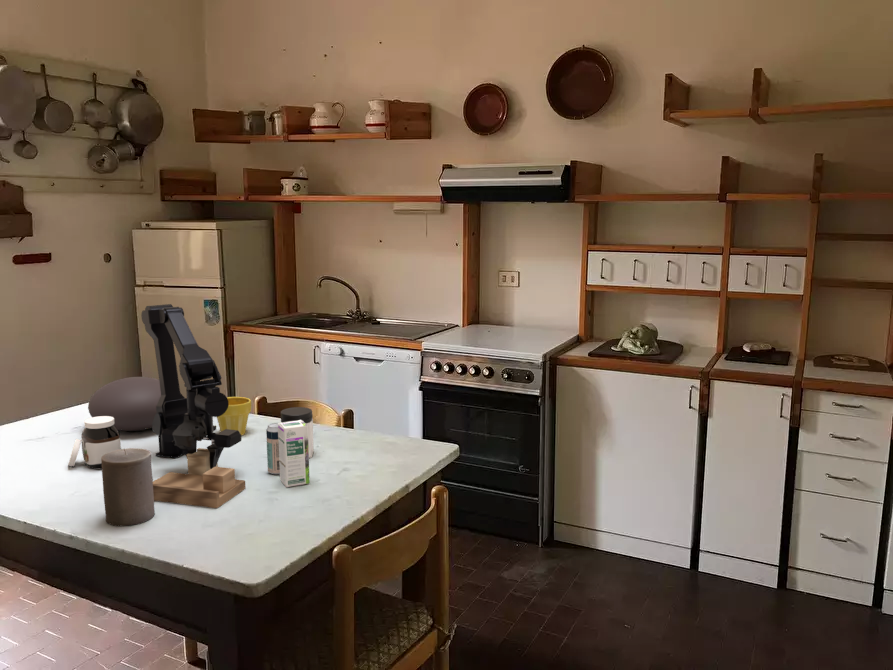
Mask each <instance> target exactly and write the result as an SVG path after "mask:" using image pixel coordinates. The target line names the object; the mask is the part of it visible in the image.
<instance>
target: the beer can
mask: <svg viewBox="0 0 893 670" xmlns="http://www.w3.org/2000/svg"><path fill="white" fill-rule="evenodd" d="M278 423H279V422H273V423H269V424H268V425H267V427H266V429H265V430H266V431H265V432H266V451H267V452H266V453H267V454H266V456H267V457H266V459H267V472H268V473H269V474H272V475H276V476H277V475H280V465H279V441H278Z"/></svg>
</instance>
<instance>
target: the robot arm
mask: <svg viewBox="0 0 893 670" xmlns="http://www.w3.org/2000/svg"><path fill="white" fill-rule="evenodd" d="M140 315H141V321H142V324H143V325H144V329H145V332H146V333H147V334H148V335H149V336H150V337H151V339H152V340H153V344H154V345H153V346H154V352H155V360H156V366H157V367H156V368H157V375H158V380H159V382H160V390H161V397H160V399H159V401H158V403H157V405H156V411H157V413H156V415H155V417H154V420H153V422H152V428H151V430H152V432H153V433H154V434H156V435H157V436H158V452H157V453H155V456H156V457H164V458H174V459H175V458H180V457H181V456H183V455H184V456H185V458H186V459H187V454H193V453H195V452H196V451H197V449H198V447H197V446H198V445H197V444H198V442H202V441H211V444H210V445H208V446H206V449H208V450H209V452H210V469H212V468H214V467H216V465H217V464H218V462H219V459H220V457H221V455H222V452H223V451H224V449H229V448H231V447H233V446H235V445H237V444H238V443H240V442H242V435H241V434H240V432H239V431H238V430H229V429H225V430H223V431H219V432H214V431H216V430H217V426H216V425H214V418H217V417H218V416H221V415H223V414H224V413H225V412H226V410H227V409H228V405H229V401H228V399H227V396H226V395H225V393H222V392H221V391H220V390H221V387H219V386H222V385H223V383H222V375H221V373H220V371H219V369H218V366H217V364H216V362H215V360H213V357H212V356H211V354H210V353H209V352H208V350H206V349H205V348H202V347H201V346H199V344H198V343H197V340H196V338H195V336H194V334H193V332H192V331H191V328H190V326H189V324H188V321H186V318H185V311H184V309H183V307H179V306H173V305H172V303H168V304H167V303H166V304H165V303H164V304H154V305H146V306H145V308H144V310H142V311H141V314H140ZM175 349H176V351H177V352H178V355H179V357H180V361H179V364H177V360H176V359H177V358H176V351H175ZM177 365H178V367H179V369H178V367H177ZM178 370H179V374H178ZM179 375H180V377H181V380H182V381H183V383H184V387H185V388H186V393H185V394H186V397H185V395H183V394H182V393H181V388H180V381H179V380H180V379H179ZM213 417H214V418H213Z"/></svg>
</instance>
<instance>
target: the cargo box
mask: <svg viewBox="0 0 893 670" xmlns="http://www.w3.org/2000/svg"><path fill="white" fill-rule="evenodd" d="M235 471H236V470H235V468H231V467H222V466H218V467H214V468H212V469H210V470H209V471H207V472H205V473H204V474H203V490H212V491H219V493H225V492H226V491H228V490H229V489H231V488H232V487H234V486H235V479H236V472H235Z"/></svg>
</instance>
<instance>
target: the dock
mask: <svg viewBox="0 0 893 670" xmlns="http://www.w3.org/2000/svg"><path fill="white" fill-rule="evenodd" d="M244 490H246V480H245V479H237V478H235V486H234V487H232V488H231V489H229V490H228V491H226V492H225V493H219V491H212V490H203V476H201V475H192V474H188V473H180V472H172V471H169V472H168V473H165V474H164V475H162V476H160V477H159V478H157V479H155V480H153V494H154V502H155V501H156V502H163V503H172V504H180V505H188V506H196V507H204V508H212V509H213V508H214V509H219V508H221V506H224V504H226V503H227V502H229V501H230V500H231V499H233V498H234V497H236V496H237V495H238V494H240V493H242V492H243V491H244Z"/></svg>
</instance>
